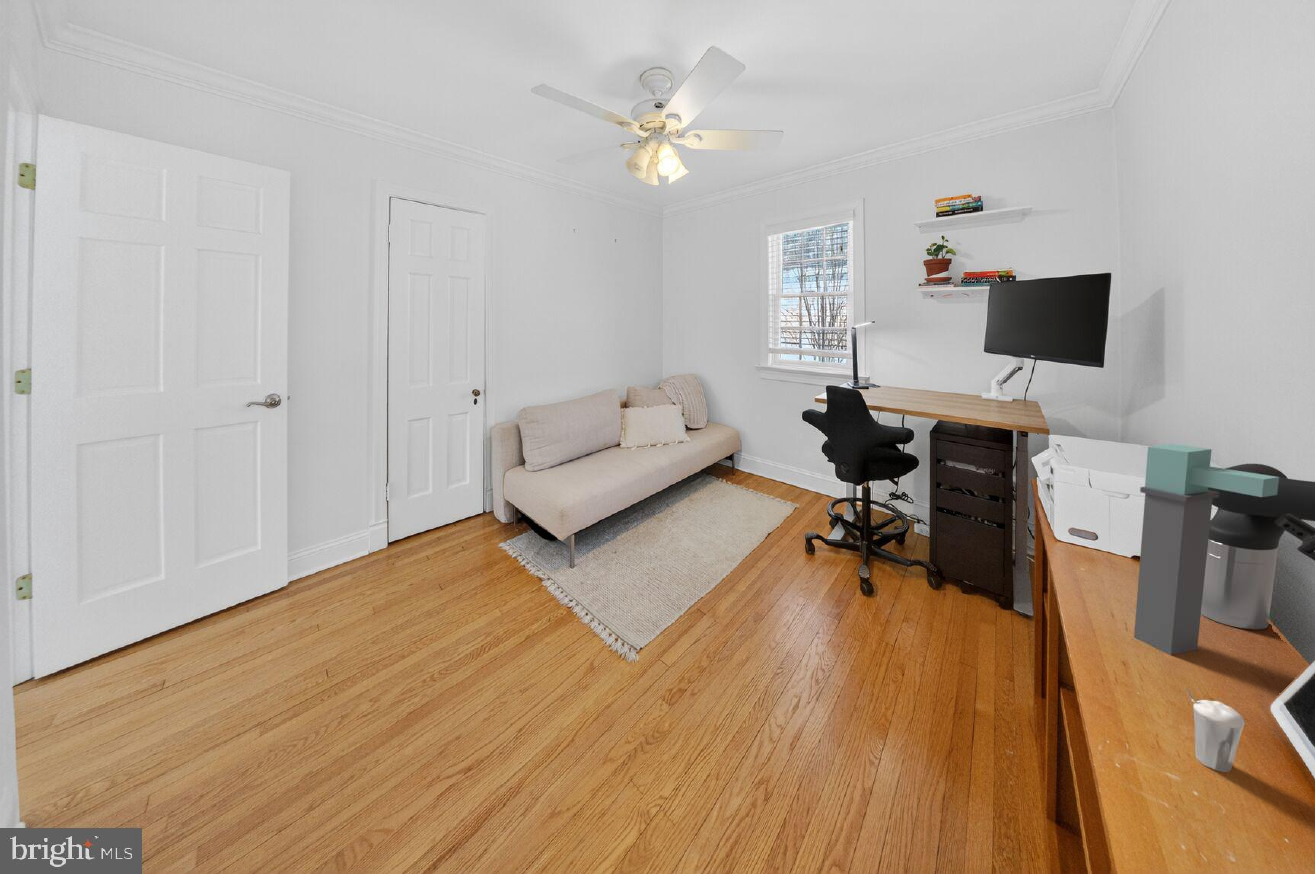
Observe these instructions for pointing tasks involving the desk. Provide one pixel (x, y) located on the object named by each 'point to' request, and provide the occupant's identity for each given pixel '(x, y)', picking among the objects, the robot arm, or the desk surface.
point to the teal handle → (1200, 473)
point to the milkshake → (1216, 733)
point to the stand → (1172, 568)
